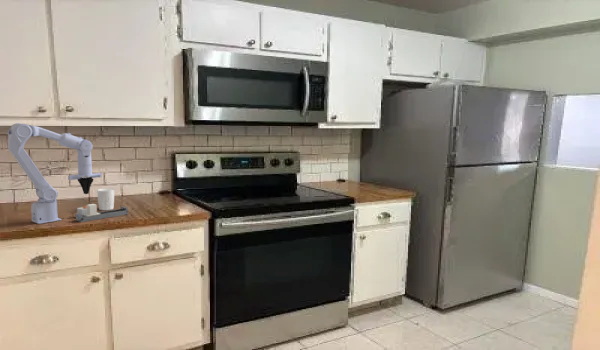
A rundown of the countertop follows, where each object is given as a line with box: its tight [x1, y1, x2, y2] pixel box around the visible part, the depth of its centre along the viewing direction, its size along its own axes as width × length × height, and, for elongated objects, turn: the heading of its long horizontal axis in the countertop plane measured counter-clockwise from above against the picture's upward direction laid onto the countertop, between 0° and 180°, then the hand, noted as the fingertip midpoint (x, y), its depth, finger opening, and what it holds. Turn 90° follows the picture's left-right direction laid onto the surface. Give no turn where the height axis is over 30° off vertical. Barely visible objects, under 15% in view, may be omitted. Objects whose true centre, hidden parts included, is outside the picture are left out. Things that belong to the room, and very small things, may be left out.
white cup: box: [96, 187, 115, 211], centre depth 205 cm, size 8×8×10 cm
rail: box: [75, 205, 129, 223], centre depth 188 cm, size 22×5×3 cm, turn 143°
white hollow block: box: [76, 206, 87, 215], centre depth 190 cm, size 6×5×4 cm
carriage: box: [84, 203, 100, 217], centre depth 184 cm, size 6×3×6 cm, turn 143°
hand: (86, 193), depth 190 cm, fingers closed
